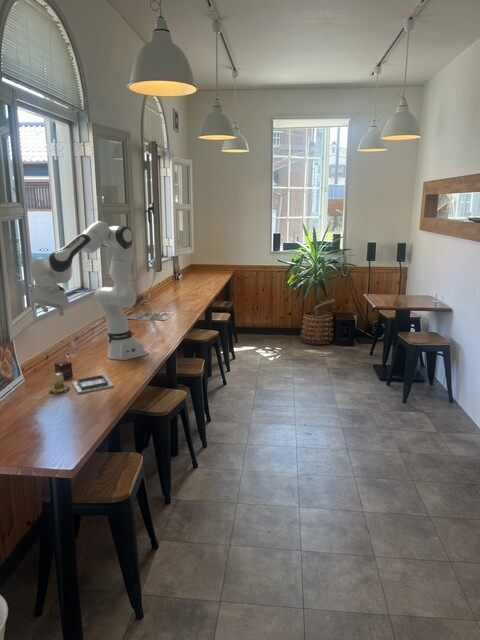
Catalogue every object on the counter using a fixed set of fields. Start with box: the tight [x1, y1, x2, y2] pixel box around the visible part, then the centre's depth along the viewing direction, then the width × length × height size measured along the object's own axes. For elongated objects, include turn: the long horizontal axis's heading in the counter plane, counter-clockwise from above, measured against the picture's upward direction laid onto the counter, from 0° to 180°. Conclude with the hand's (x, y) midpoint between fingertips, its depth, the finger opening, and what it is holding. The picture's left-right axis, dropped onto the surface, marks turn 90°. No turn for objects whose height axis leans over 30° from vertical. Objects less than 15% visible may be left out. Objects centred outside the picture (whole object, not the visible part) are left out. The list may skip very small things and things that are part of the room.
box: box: [53, 360, 74, 380], centre depth 239 cm, size 6×6×7 cm
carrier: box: [71, 374, 115, 395], centre depth 227 cm, size 16×16×2 cm
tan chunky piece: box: [48, 372, 71, 395], centre depth 221 cm, size 9×8×8 cm
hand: (54, 313), depth 223 cm, fingers open, 8 cm apart
